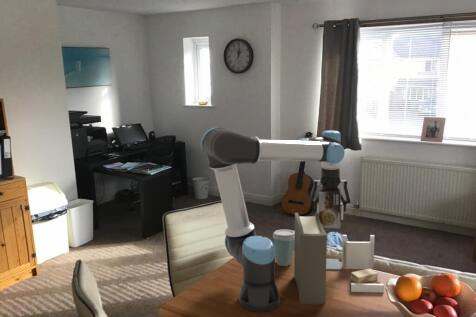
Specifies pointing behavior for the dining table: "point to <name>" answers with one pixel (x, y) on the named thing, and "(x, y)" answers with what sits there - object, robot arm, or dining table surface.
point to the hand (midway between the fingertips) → (329, 218)
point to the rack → (360, 262)
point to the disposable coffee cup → (284, 246)
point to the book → (310, 259)
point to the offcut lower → (366, 282)
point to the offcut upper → (364, 276)
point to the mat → (333, 264)
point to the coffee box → (330, 208)
